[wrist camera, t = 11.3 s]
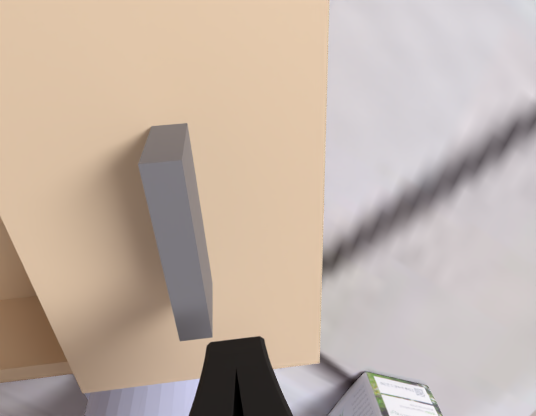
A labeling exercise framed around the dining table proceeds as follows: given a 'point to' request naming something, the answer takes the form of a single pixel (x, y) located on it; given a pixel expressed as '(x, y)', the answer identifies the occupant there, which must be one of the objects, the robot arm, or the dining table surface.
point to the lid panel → (166, 177)
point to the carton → (24, 323)
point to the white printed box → (386, 398)
